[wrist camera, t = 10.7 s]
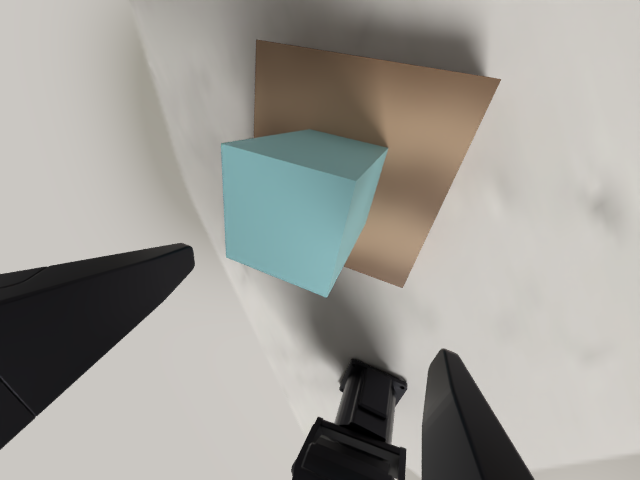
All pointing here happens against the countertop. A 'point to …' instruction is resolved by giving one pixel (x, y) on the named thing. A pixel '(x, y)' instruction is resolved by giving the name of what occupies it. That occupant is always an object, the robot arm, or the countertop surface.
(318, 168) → the teal block
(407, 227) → the wooden board
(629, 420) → the countertop surface
